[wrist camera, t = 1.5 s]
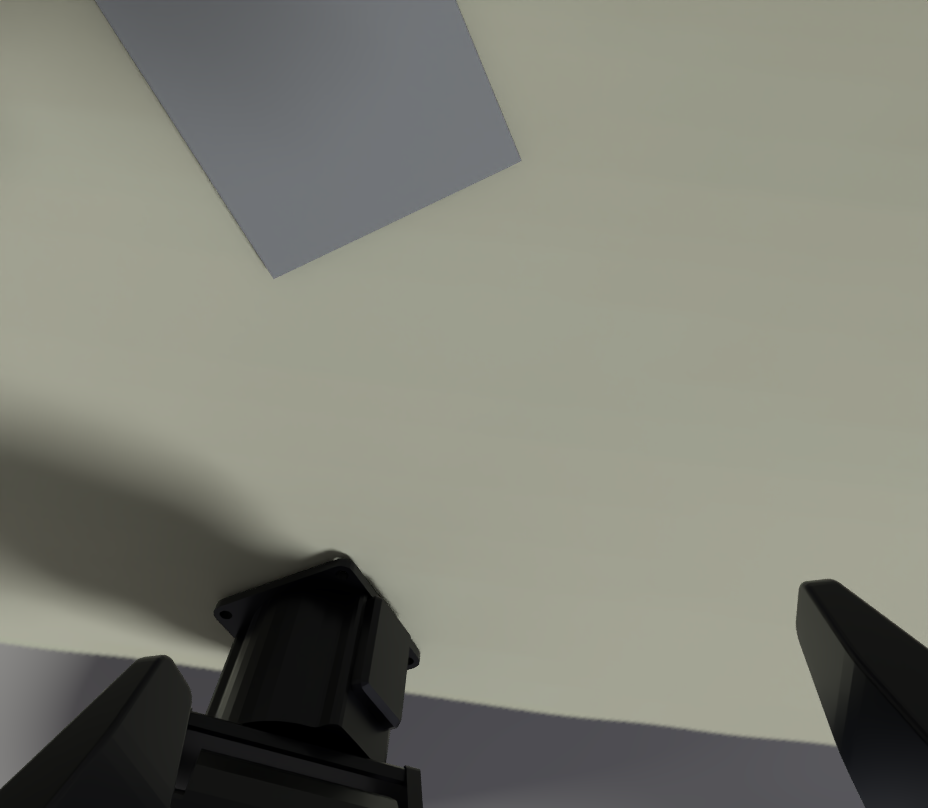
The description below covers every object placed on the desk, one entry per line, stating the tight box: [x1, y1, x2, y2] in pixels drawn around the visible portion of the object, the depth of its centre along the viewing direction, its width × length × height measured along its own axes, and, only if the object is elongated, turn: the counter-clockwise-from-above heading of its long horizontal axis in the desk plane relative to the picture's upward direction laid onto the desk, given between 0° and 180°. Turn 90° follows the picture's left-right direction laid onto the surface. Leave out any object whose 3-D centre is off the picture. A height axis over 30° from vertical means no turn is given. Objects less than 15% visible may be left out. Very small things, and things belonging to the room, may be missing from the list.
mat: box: [95, 0, 521, 279], centre depth 17 cm, size 8×12×1 cm, turn 25°
